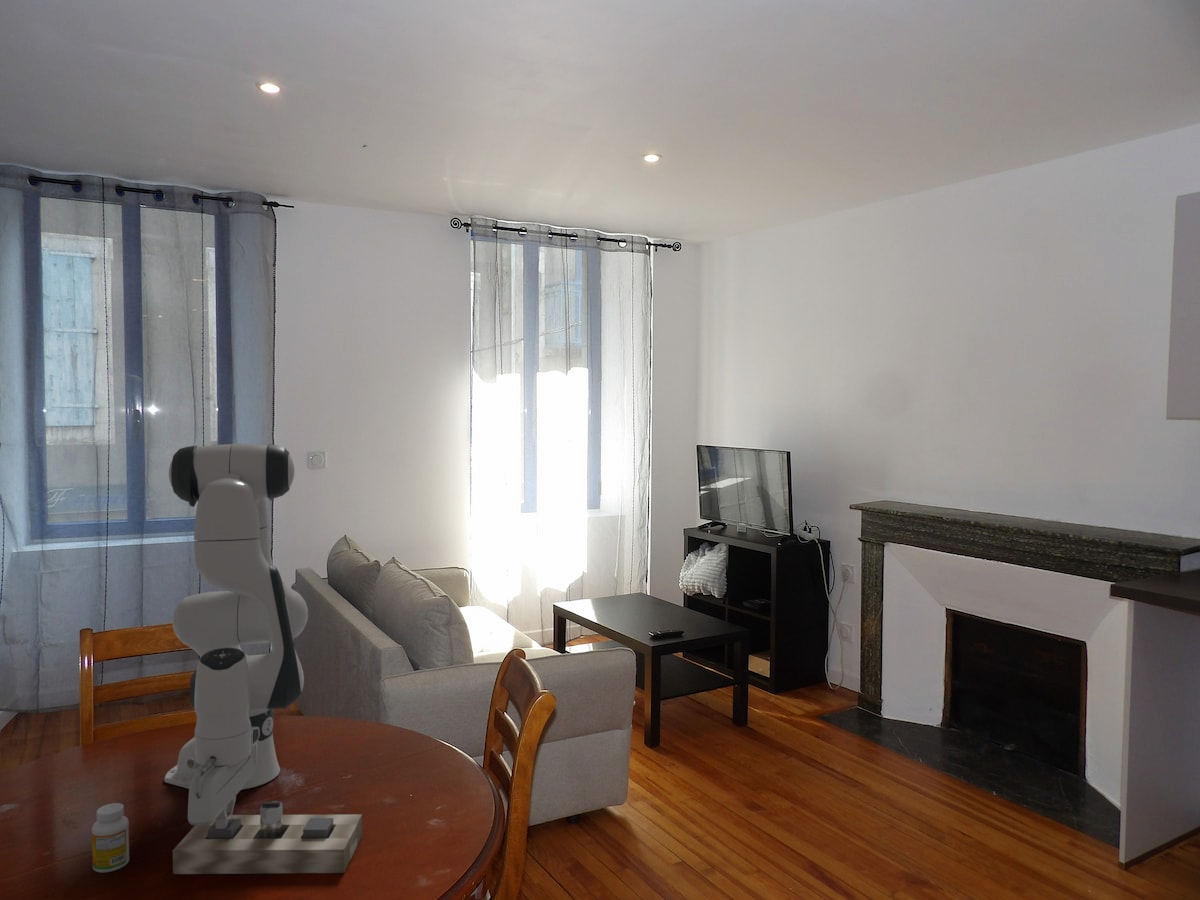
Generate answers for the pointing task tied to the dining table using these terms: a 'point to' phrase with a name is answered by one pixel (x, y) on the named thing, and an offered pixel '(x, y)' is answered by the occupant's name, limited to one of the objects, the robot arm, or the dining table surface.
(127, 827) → the supplement bottle
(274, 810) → the steel dial
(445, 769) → the dining table surface
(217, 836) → the inner button
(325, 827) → the outer button
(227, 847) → the mount
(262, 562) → the robot arm
